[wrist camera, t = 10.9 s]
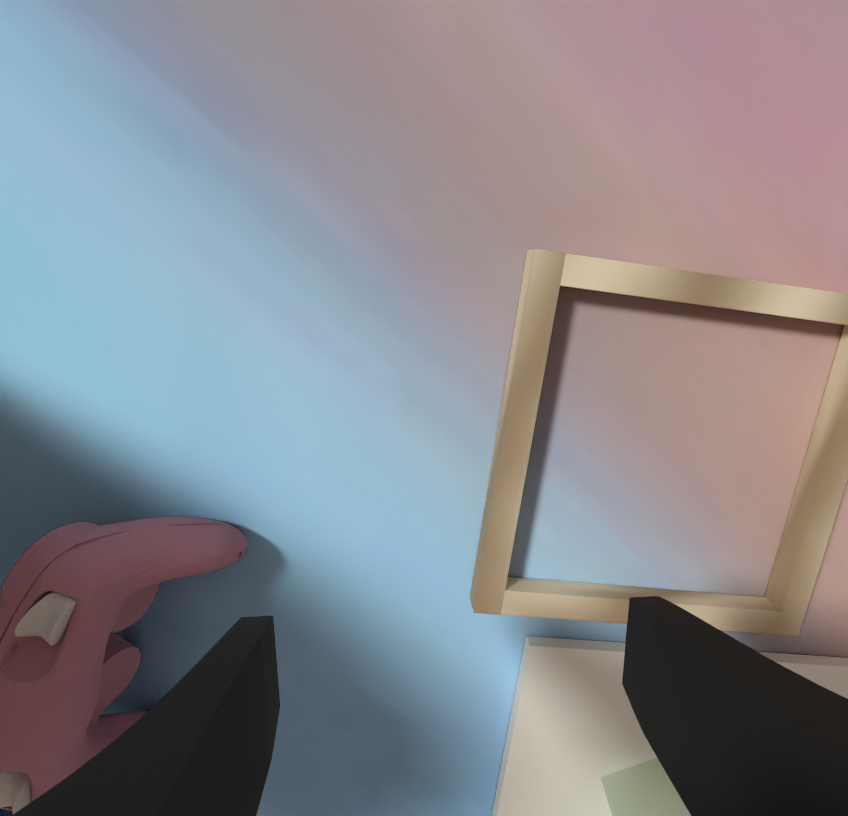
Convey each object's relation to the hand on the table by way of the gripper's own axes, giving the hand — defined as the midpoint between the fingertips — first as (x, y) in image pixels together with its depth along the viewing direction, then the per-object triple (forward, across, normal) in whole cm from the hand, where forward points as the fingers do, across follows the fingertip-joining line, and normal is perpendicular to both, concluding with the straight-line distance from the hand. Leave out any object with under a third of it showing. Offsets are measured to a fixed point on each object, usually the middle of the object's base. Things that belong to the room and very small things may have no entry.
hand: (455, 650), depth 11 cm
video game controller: (+10, +10, +5) cm, 15 cm away
